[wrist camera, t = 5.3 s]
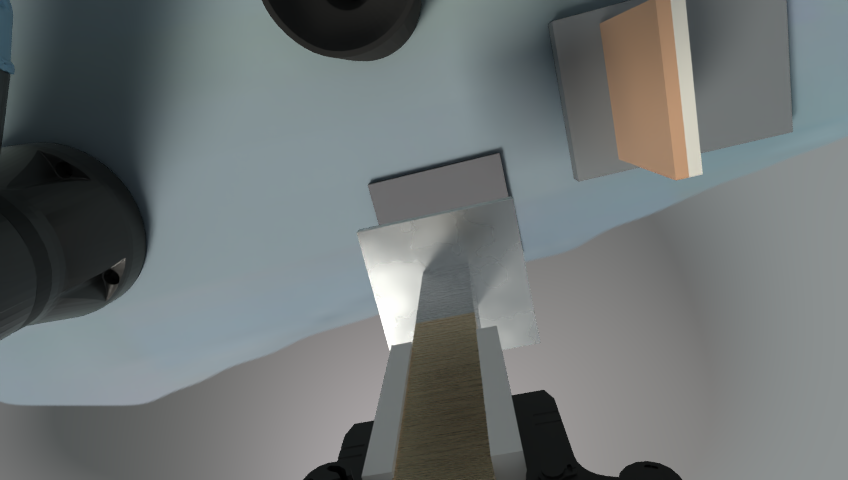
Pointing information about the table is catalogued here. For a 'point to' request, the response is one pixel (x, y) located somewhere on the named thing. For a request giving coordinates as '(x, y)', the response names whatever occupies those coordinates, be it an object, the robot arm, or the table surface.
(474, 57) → the table surface
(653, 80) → the tile
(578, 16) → the slate board
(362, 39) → the pen holder
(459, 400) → the wooden post on base
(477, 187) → the mat
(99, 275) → the robot arm
